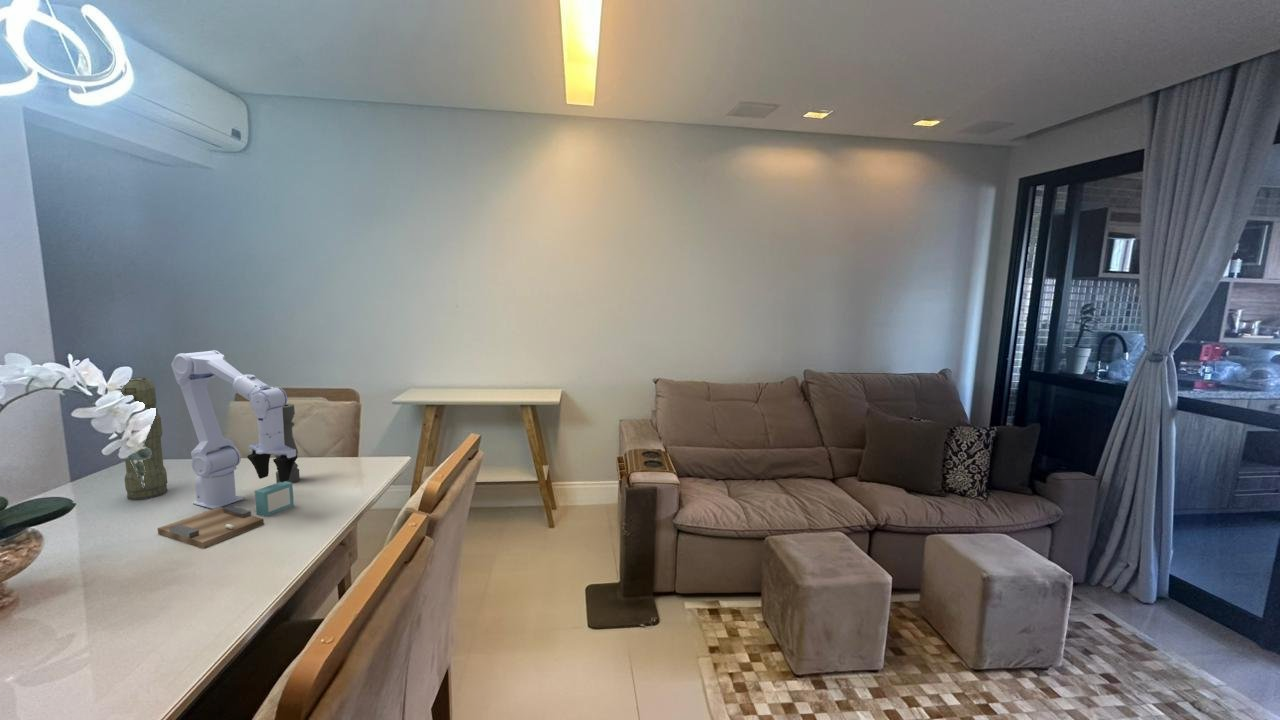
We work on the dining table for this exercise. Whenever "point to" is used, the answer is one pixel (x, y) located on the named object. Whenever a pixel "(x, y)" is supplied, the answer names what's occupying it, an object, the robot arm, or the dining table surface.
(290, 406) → the candle holder
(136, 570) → the dining table surface
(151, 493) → the olive green tall column
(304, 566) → the dining table surface
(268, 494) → the teal block
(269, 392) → the robot arm
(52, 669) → the dining table surface
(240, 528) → the wooden board
